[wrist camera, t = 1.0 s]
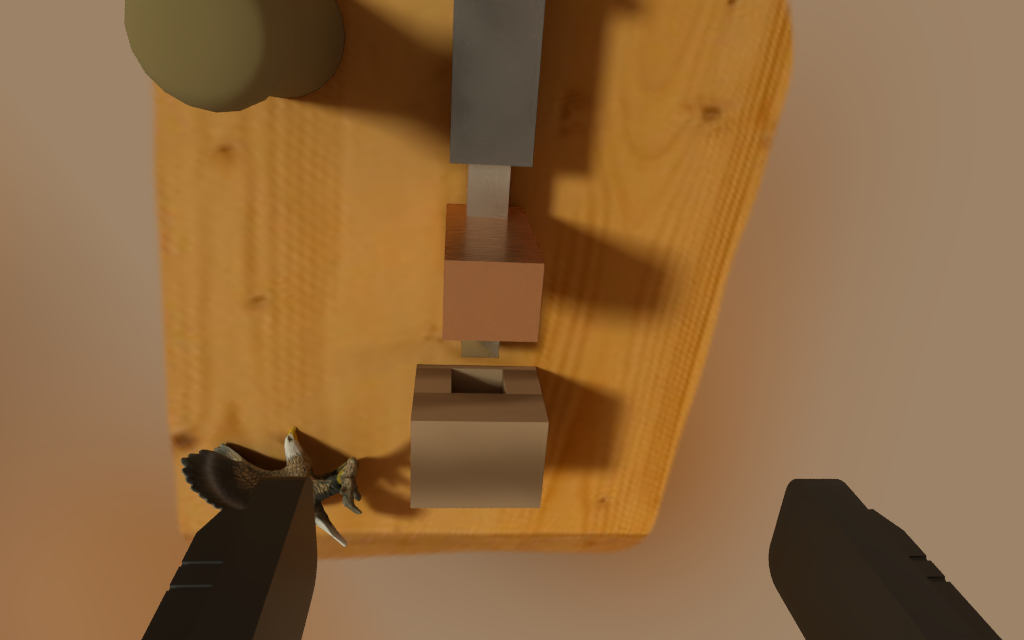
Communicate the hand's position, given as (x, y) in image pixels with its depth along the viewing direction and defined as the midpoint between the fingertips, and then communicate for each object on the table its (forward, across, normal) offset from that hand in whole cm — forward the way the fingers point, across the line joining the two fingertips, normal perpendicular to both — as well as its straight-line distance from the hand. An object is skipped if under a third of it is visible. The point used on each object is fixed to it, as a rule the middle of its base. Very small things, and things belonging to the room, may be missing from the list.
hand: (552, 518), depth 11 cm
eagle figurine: (+26, +11, +17) cm, 33 cm away
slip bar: (+25, 0, 0) cm, 25 cm away
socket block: (+26, 0, +13) cm, 29 cm away
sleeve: (+26, 0, -6) cm, 26 cm away
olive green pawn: (+26, +10, -7) cm, 29 cm away
